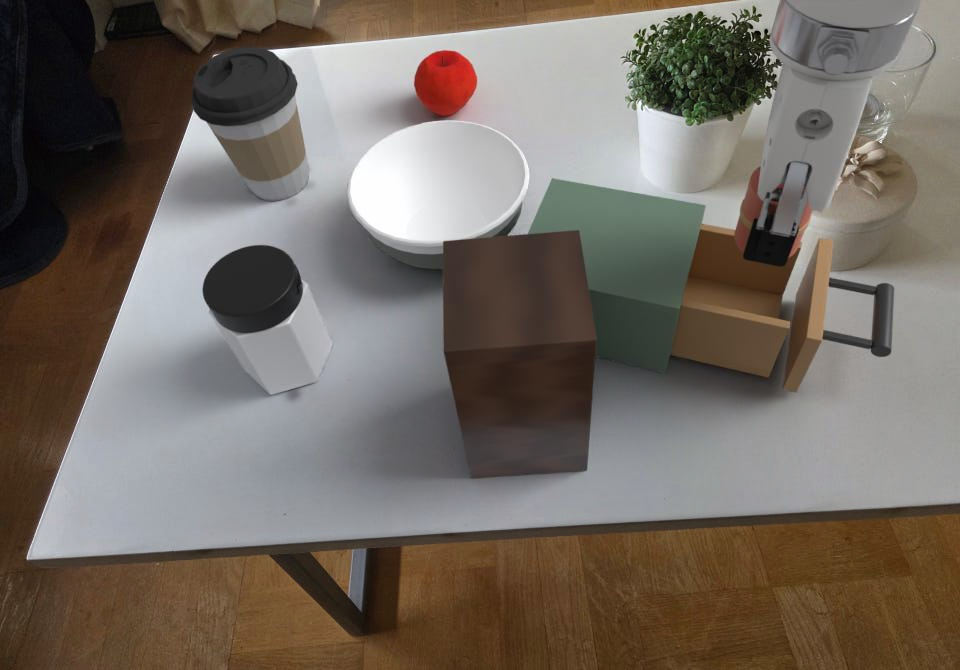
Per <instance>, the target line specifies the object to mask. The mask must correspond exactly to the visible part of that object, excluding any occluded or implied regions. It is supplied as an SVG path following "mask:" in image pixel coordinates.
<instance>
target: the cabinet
mask: <svg viewBox="0 0 960 670" xmlns="http://www.w3.org/2000/svg"><path fill="white" fill-rule="evenodd" d="M706 207H707V205H706V204H700V203H696V202H690V201H685V200H678V199H672V198H668V197H661V196H657V195H656V196H655V195H651V194H646V193H638V192H633V191H627V190H622V189H615V188H611V187H604V186H599V185H595V184H588V183H581V182H576V181H571V180H564V179H558V178H554V177H553V178H551V180H550V182H549V185H548V186H547V189H546V191H545V193H544V196H543V197H542V200H541V203H540V205H539V207H538V209H537V212H536V214H535V216H534V219H533V221H532V223H531V226H530V227H529V230H528V232H527V234H535V233H547V232H559V231H571V230H579V231H580V237H581V243H582V250H583V256H584V262H585V269H586V275H587V281H588V287H589V294H590V300H591V306H592V313H593V319H594V325H595V331H596V338H597V344H596V357H595V358H599V359H600V358H601V359H603V360H609V361H611V362H612V361H613V362H617V363H620V364H624V365H630V366H633V367H638V368H641V369H647V370H649V371H655V372H659V373H663V374H666V373H667V369H668V365H669V361H670V358H671V355H670V352H671V347H672V343H673V338H674V333H675V329H676V324H677V320H678V315H679V310H680V306H681V302H682V298H683V294H684V290H685V287H686V283H687V279H688V275H689V271H690V267H691V263H692V259H693V255H694V251H695V247H696V244H697V240H698V236H699V232H700V228H701V224H703V220H704V216H705V212H706V209H707V208H706Z"/></svg>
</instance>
